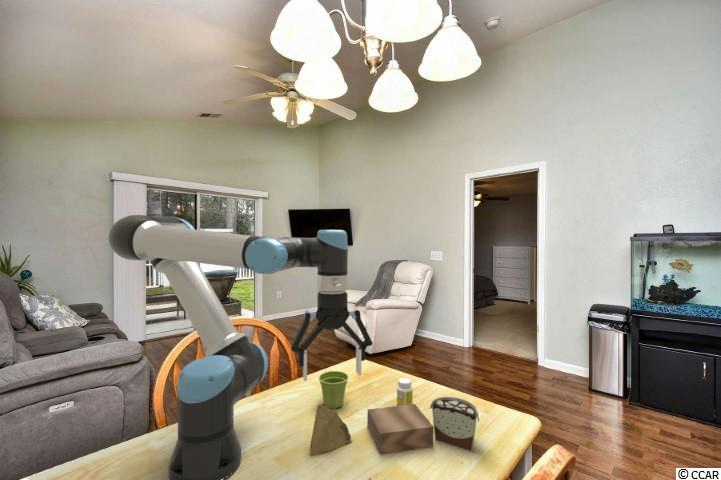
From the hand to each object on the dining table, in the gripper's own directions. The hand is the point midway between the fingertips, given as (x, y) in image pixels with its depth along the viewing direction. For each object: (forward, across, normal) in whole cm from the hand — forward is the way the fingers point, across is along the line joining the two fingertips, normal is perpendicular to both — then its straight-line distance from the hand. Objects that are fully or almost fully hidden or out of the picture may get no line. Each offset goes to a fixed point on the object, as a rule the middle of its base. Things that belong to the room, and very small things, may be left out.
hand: (332, 376), depth 87 cm
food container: (+18, +32, -5) cm, 37 cm away
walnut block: (+18, +18, 0) cm, 25 cm away
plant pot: (+18, +4, +21) cm, 28 cm away
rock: (+18, 0, 0) cm, 18 cm away
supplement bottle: (+18, +25, +14) cm, 34 cm away
